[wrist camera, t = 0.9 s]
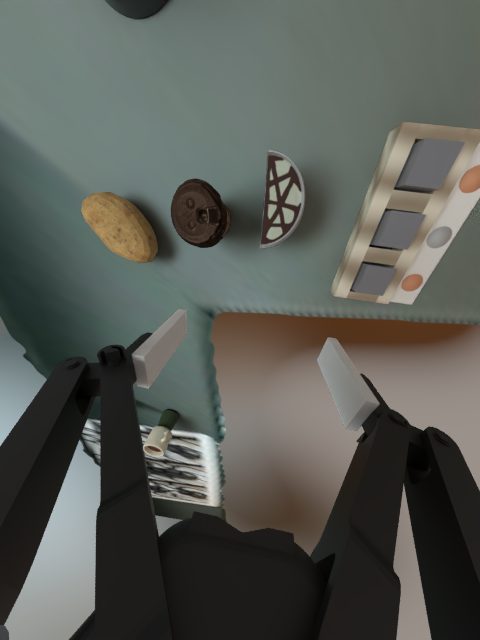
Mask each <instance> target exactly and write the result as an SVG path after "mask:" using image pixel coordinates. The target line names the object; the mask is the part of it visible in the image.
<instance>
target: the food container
mask: <svg viewBox="0 0 480 640" xmlns="http://www.w3.org/2000/svg"><path fill="white" fill-rule="evenodd" d="M304 207H305V185H304V181H303V178H302V175H301V173H300V171H299V169H298V167H297V166H296V164H295V163H294V162H293V161H292V160H291V159H290V158H289V157H288V156H286V155H284V154H282V153H280V152H277V151H273V150H268V156H267V169H266V182H265V194H264V205H263V217H262V229H261V240H260V249H263V248H270V247H273V246H276V245H278V244H280V243H281V242H283V241H284V240H286V239H287V238H288V237H289V236H290V235H291V234H292V233H293V231H294V230H295V229H296V227H297V226H298V224H299V222H300V220H301V217H302V215H303V211H304Z"/></svg>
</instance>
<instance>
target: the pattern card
mask: <svg viewBox="0 0 480 640" xmlns="http://www.w3.org/2000/svg"><path fill="white" fill-rule="evenodd" d="M479 198H480V142H479V144H478V146H477V148H476V149H475V151H474V153H473V155H472V156H471V158H470V160H469V162H468V164H467V165H466V167H465V169H464V171H463V172H462V174H461V176H460V178H459V179H458V181H457V183H456V185H455V187H454V188H453V190H452V192H451V194H450V195H449V197H448V199H447V201H446V202H445V204H444V206H443V208H442V210H441V211H440V213H439V215H438V217H437V218H436V220H435V222H434V224H433V225H432V227H431V229H430V231H429V233H428V234H427V236H426V238H425V240H424V241H423V243H422V245H421V247H420V248H419V250H418V252H417V254H416V256H415V257H414V259H413V261H412V263H411V264H410V266H409V268H408V270H407V271H406V273H405V275H404V277H403V279H402V280H401V282H400V284H399V286H398V287H397V289H396V291H395V293H394V294H393V296H392V298H391V300H390V301H391V302H397V303H404V304H411V305H412V303H413V302H414V300H415V298H416V297H417V295H418V294H419V292H420V291H421V289H422V287H423V286H424V284H425V283H426V281H427V280H428V278H429V276H430V275H431V273H432V272H433V270H434V269H435V267H436V265H437V264H438V262H439V261H440V259H441V258H442V256H443V254H444V253H445V251H446V250H447V248H448V247H449V245H450V243H451V242H452V240H453V239H454V237H455V236H456V234H457V232H458V231H459V229H460V228H461V226H462V224H463V223H464V221H465V220H466V218H467V217H468V215H469V213H470V212H471V210H472V209H473V207H474V206H475V204H476V202H477V201H478V199H479Z"/></svg>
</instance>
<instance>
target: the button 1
mask: <svg viewBox="0 0 480 640" xmlns="http://www.w3.org/2000/svg"><path fill="white" fill-rule="evenodd" d="M396 270H397V269H395V268H392V267H389V266H384V265H377V264H370V263H363V262H362V263H361V266H360V268H359V270H358V273H357V275H356V277H355V279H354V282H353V284H352V286H351V289H352V290H353V291H355V292H359V293H366V294H373V295H379V296H383V294H384V293H385V291H386V289H387V287H388V285H389V283H390V281H391V280H392V278H393V276H394V274H395V272H396Z"/></svg>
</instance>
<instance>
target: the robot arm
mask: <svg viewBox="0 0 480 640" xmlns="http://www.w3.org/2000/svg"><path fill="white" fill-rule="evenodd" d="M105 1H106V2H107V3H108V4H109V5H110V6H111V7H112V8H114V9H115V10H116V11H118V12H119V13H121V14H123V15H125V16H128V17H132V18H143V17H147V16H149V15H151V14H153V13H155V12H156V11H157V10H158V9H160V8H161V7H162V5H163V4H164V3H165V2H166V0H105ZM186 335H187V310H183V309H178V310H177V311H176V312H175V313H174V314H173V315H172V316H171V317H170V318H169V319H168V320H167V321H166V322H164V323H163V324H162V325H161V326H160V327H159V328H158V329H157V330H156V331H155V332H154V333H146V334H143V335H141V336H140V337H139V338H138V339H137V340H136V341H135V342H133V344H131V345H130V346H129V347H128V348H127V349H126V350H125V348H124V347H123V346H121V345H110V346H107V347H105V348H103V349H101V350H100V351H99V352H98V354H97V356H98V359H99V362H100V363H88V362H87V360H86V358H84V357H73V358H69V359H66V360H64V361H62V362H61V363H59V364H58V365H57V366H56V368H55V369H54V371H53V372H52V374H51V375H50V376H49V378H48V379H47V381H46V382H45V384H44V385H43V386H42V388H41V389H40V391H39V392H38V394H37V395H36V396H35V398H34V399H33V401H32V402H31V404H30V405H29V406H28V408H27V409H26V411H25V412H24V413H23V415H22V416H21V418H20V419H19V421H18V422H17V423H16V425H15V426H14V428H13V429H12V431H11V432H10V433H9V435H8V436H7V438H6V439H5V440H4V442H3V443H2V445H1V446H0V640H9V632H8V630H7V629H6V627H5V626H4V624H5V622H6V620H7V618H8V616H9V614H10V612H11V610H12V608H13V606H14V604H15V602H16V600H17V598H18V596H19V594H20V592H21V589H22V587H23V585H24V583H25V580H26V578H27V575H28V573H29V571H30V568H31V566H32V563H33V561H34V558H35V556H36V553H37V550H38V547H39V545H40V542H41V540H42V537H43V534H44V531H45V529H46V526H47V523H48V521H49V518H50V516H51V513H52V510H53V508H54V505H55V502H56V500H57V497H58V494H59V492H60V489H61V487H62V484H63V481H64V479H65V476H66V473H67V470H68V468H69V465H70V463H71V460H72V458H73V455H74V452H75V450H76V447H77V444H78V442H79V439H80V437H81V434H82V431H83V429H84V426H85V423H86V421H87V418H88V415H89V413H90V410H91V407H92V405H93V402H94V400H95V397H96V396H101V501H100V506H99V508H98V511H97V519H96V577H95V578H96V579H95V582H96V583H95V585H96V586H95V610H94V612H93V613H92V614H91V615H90V616H89V617H88V618H87V620H86V621H85V622H84V623H83V624H82V625H81V626H80V628H79V629H78V630H77V631H76V632H75V633H74V634H73V635H72V637H71V638H70V639H69V640H396V636H397V625H398V615H399V604H400V594H401V584H400V580H399V577H398V576H397V575H396V573H395V572H394V569H393V561H394V553H395V545H396V537H397V529H398V523H399V515H400V507H401V499H402V492H403V484H404V486H405V492H406V498H407V503H408V509H409V515H410V520H411V526H412V532H413V537H414V543H415V549H416V554H417V560H418V565H419V571H420V576H421V582H422V588H423V593H424V599H425V605H426V611H427V616H428V622H429V627H430V633H431V638H432V640H480V491H479V489H478V487H477V485H476V482H475V480H474V478H473V476H472V474H471V472H470V470H469V468H468V466H467V464H466V462H465V460H464V457H463V455H462V453H461V451H460V449H459V447H458V446H457V444H456V443H455V442H454V441H453V440H452V439H451V438H450V437H449V436H448V435H447V434H445V433H444V432H442V431H440V430H439V429H437V428H434V427H428V428H426V429H425V430H424V431H423V430H421V429H418V428H416V427H413V426H411V425H410V424H409V422H408V421H407V420H406V419H405V418H404V417H403V416H402V415H401V414H399V413H398V412H396V411H394V410H391V409H390V408H389V407H388V405H387V404H386V403H385V401H384V400H383V398H382V397H381V396H380V394H379V393H378V392H377V390H376V389H375V387H374V386H373V384H372V383H371V381H370V380H369V379H368V378H367V377H366V376H365V375H363V374H360V373H359V372H358V370H357V369H356V367H355V366H354V364H353V363H352V361H351V360H350V359H349V357H348V355H347V354H346V352H345V351H344V349H343V348H342V346H341V345H340V343H339V342H338V340H337V339H335V338H329V337H328V338H327V341H326V342H325V345H324V347H323V349H322V351H321V353H320V355H319V357H318V359H317V361H318V364H319V366H320V369H321V371H322V373H323V376H324V378H325V381H326V383H327V386H328V388H329V391H330V393H331V395H332V398H333V400H334V403H335V405H336V408H337V410H338V412H339V415H340V417H341V420H342V422H343V425H344V427H345V429H349V430H355V431H357V430H358V429H359V428H360V427H361V426H362V427H363V429H364V431H365V432H364V433H363V434H362V435H361V436H360V438H359V439H358V440H357V442H359V444H358V446H357V449H356V451H355V454H354V456H353V459H352V461H351V464H350V466H349V469H348V471H347V474H346V476H345V479H344V481H343V484H342V486H341V489H340V491H339V494H338V496H337V499H336V501H335V504H334V506H333V509H332V511H331V514H330V516H329V519H328V521H327V524H326V526H325V529H324V531H323V534H322V536H321V539H320V541H319V542H318V544H317V546H316V547H315V549H314V550H313V552H312V554H311V556H309V555H308V554H307V553H306V552H305V551H304V550H303V549H302V548H301V547H300V546H299V545H297V544H296V543H295V542H294V536H293V533H289V532H285V531H280V530H275V529H271V528H266V529H260V530H255V531H250V532H240V531H239V530H237V529H236V528H234V527H232V526H231V525H230V524H228V523H227V522H225V521H224V520H222V519H221V518H219V517H217V516H213V515H208V514H203V513H199V512H193V516H192V518H189V519H185V520H182V521H180V522H178V523H176V524H174V525H173V526H171V527H170V528H169V529H167V530H166V531H165V532H164V533H163V534H162V535H161V536H159V535H158V529H157V524H156V518H155V512H154V507H153V502H152V496H151V490H150V484H149V479H148V473H147V467H146V461H145V455H144V449H143V444H142V438H141V432H140V426H139V420H138V415H137V409H136V403H135V397H134V391H133V386H132V385H133V384H134V383H135V381H137V386H139V387H144V388H149V387H150V386H151V384H152V383H153V382H154V380H155V379H156V377H157V376H158V375H159V373H160V372H161V370H162V369H163V367H164V366H165V365H166V363H167V362H168V360H169V359H170V358H171V356H172V355H173V353H174V352H175V351H176V349H177V348H178V346H179V345H180V343H181V342H182V341H183V339H184V338H185V336H186Z"/></svg>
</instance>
